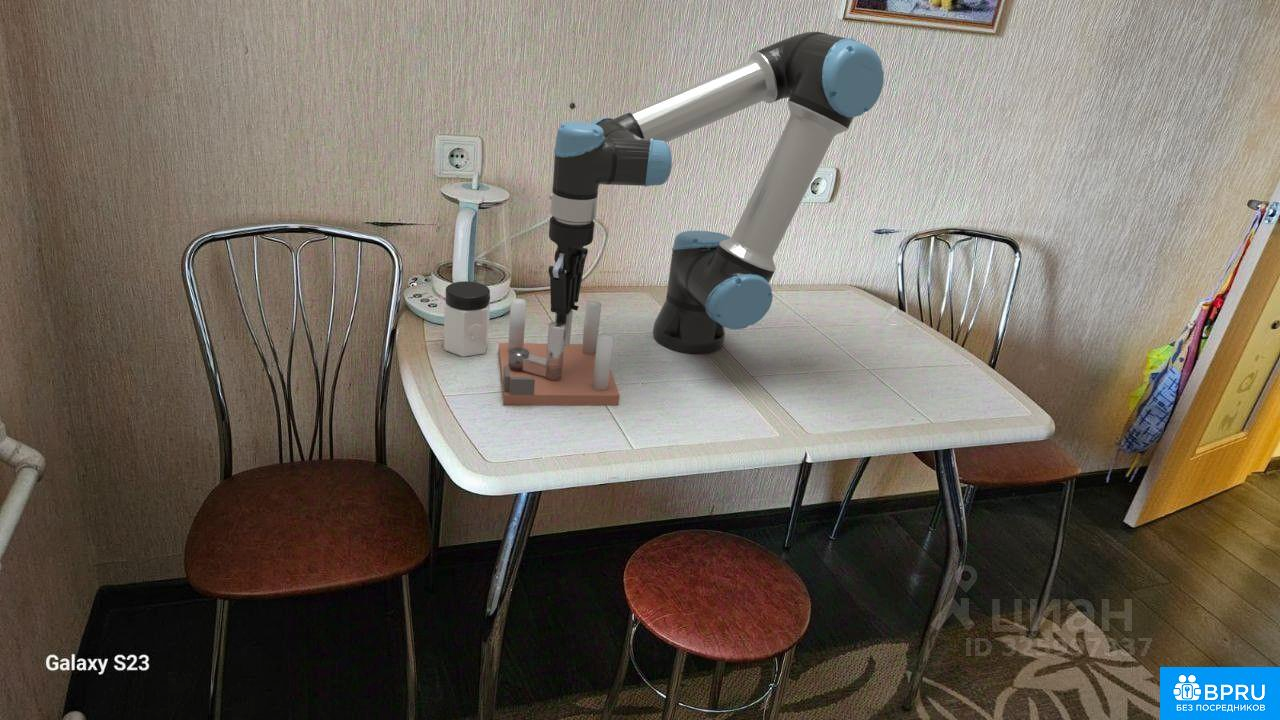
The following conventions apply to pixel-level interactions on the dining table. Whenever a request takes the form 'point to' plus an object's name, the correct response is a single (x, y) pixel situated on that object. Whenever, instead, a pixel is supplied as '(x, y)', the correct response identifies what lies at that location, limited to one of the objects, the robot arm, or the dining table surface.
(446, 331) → the jar
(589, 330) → the seat
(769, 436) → the dining table surface
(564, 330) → the shiny metal angled handle
